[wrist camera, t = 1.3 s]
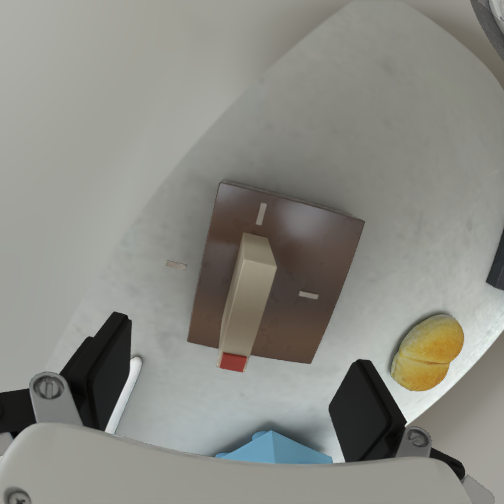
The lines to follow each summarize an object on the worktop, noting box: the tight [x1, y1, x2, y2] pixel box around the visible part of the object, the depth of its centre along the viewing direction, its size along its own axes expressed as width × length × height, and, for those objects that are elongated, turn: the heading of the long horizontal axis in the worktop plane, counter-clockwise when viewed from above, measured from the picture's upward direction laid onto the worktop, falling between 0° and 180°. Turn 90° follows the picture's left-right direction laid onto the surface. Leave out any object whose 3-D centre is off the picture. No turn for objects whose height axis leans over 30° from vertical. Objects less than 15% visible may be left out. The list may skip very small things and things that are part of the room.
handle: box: [217, 232, 277, 372], centre depth 17 cm, size 6×2×6 cm, turn 166°
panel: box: [166, 180, 365, 364], centre depth 21 cm, size 12×12×3 cm
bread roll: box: [391, 314, 464, 391], centre depth 24 cm, size 8×9×4 cm
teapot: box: [215, 430, 333, 464], centre depth 23 cm, size 22×11×14 cm, turn 136°
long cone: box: [105, 357, 142, 434], centre depth 25 cm, size 6×6×19 cm
